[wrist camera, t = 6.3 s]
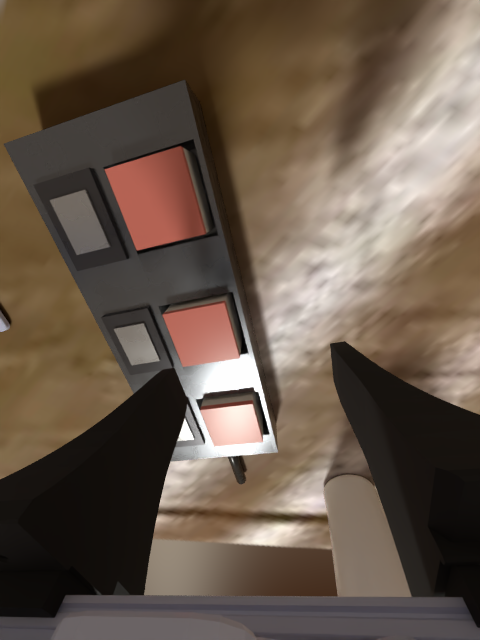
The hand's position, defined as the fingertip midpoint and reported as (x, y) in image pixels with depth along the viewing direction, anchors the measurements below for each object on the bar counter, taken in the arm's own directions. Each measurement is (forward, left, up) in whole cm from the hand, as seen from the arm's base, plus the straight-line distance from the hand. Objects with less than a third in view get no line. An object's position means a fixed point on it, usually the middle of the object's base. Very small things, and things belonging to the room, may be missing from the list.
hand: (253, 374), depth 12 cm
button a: (-3, -8, -7) cm, 11 cm away
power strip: (-6, -3, -8) cm, 11 cm away
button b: (-3, 0, -7) cm, 8 cm away
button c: (-3, +8, -7) cm, 11 cm away
